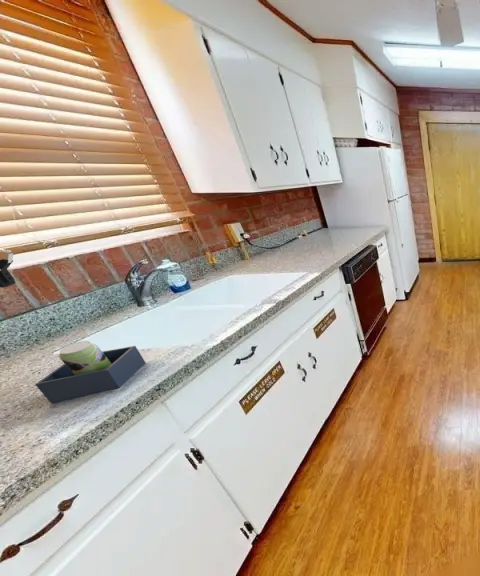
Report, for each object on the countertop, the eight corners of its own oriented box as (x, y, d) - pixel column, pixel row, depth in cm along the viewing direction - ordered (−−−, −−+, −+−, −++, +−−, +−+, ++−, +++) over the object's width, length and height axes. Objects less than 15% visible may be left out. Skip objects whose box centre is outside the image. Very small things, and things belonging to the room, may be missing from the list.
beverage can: (116, 370, 86) (92, 335, 81) (122, 378, 83) (96, 342, 78) (81, 383, 81) (53, 347, 76) (85, 392, 78) (55, 355, 73)
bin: (51, 404, 75) (34, 384, 72) (87, 375, 85) (73, 356, 82) (120, 389, 80) (107, 370, 77) (146, 363, 90) (135, 345, 87)
